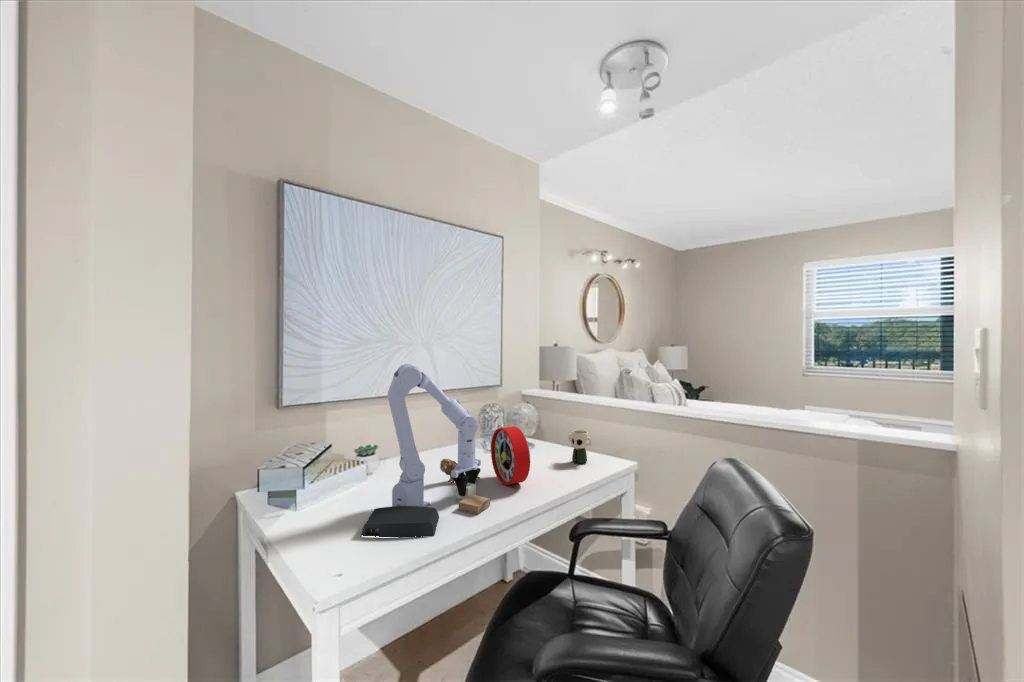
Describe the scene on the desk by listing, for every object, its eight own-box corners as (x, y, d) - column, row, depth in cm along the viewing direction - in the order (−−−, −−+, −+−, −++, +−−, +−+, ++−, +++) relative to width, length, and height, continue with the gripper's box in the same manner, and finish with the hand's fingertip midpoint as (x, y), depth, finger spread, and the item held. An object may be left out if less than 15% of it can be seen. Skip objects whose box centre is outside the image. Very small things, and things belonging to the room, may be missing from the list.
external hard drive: (373, 518, 121) (373, 504, 121) (439, 517, 122) (439, 503, 122) (359, 541, 108) (359, 525, 108) (434, 539, 109) (434, 523, 109)
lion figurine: (441, 486, 146) (441, 461, 146) (438, 481, 151) (438, 456, 151) (481, 482, 150) (481, 457, 150) (478, 477, 155) (478, 453, 155)
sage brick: (468, 500, 133) (468, 487, 133) (456, 498, 135) (456, 484, 135) (475, 496, 137) (475, 482, 137) (464, 493, 139) (464, 480, 139)
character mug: (564, 461, 175) (564, 431, 175) (573, 457, 180) (573, 428, 180) (586, 467, 168) (586, 435, 168) (595, 463, 173) (595, 432, 173)
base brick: (478, 515, 123) (478, 506, 123) (458, 510, 126) (458, 502, 126) (490, 506, 129) (490, 498, 129) (471, 502, 132) (471, 494, 132)
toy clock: (490, 475, 158) (491, 423, 157) (504, 472, 160) (504, 421, 160) (515, 493, 140) (515, 434, 140) (530, 490, 143) (530, 432, 142)
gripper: (464, 459, 128) (464, 503, 128) (488, 448, 140) (488, 487, 141) (445, 456, 131) (445, 498, 131) (470, 445, 144) (470, 484, 144)
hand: (466, 492), depth 136 cm, fingers closed on sage brick, 4 cm apart
